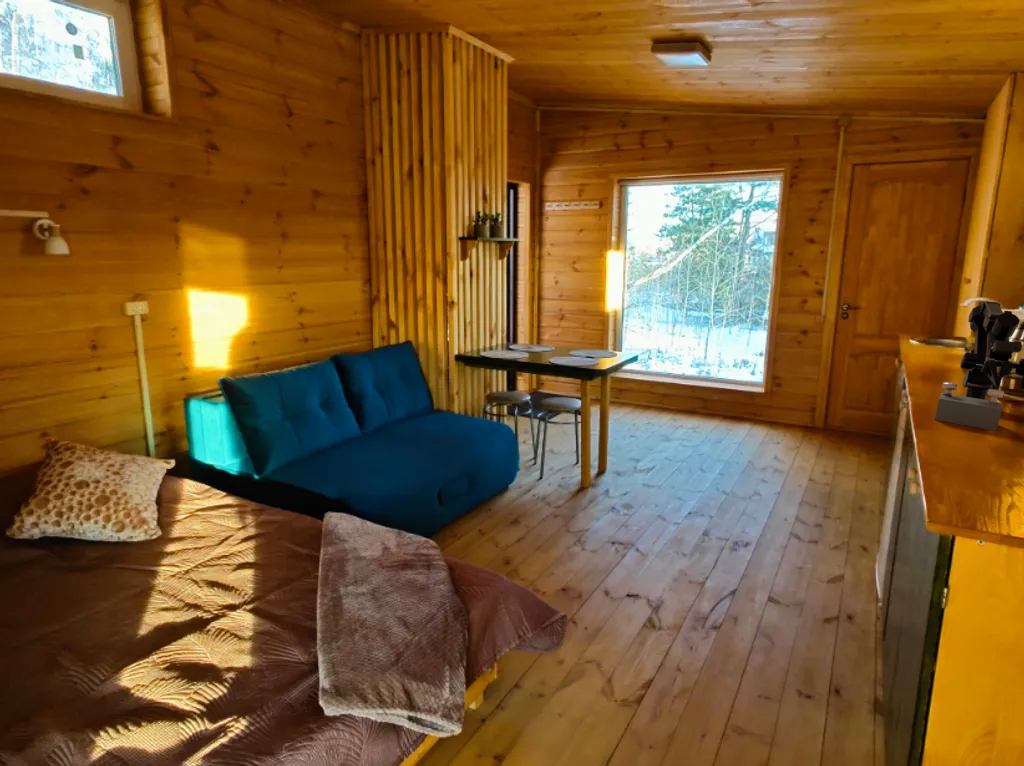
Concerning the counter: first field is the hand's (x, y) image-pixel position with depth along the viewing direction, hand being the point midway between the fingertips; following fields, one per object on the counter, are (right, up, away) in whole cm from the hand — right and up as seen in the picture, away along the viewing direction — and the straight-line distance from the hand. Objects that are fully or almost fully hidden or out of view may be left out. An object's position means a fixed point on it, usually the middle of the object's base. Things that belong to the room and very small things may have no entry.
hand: (996, 385), depth 200 cm
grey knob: (-10, -3, +7) cm, 13 cm away
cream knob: (-1, -5, +1) cm, 6 cm away
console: (-7, -11, +4) cm, 14 cm away
